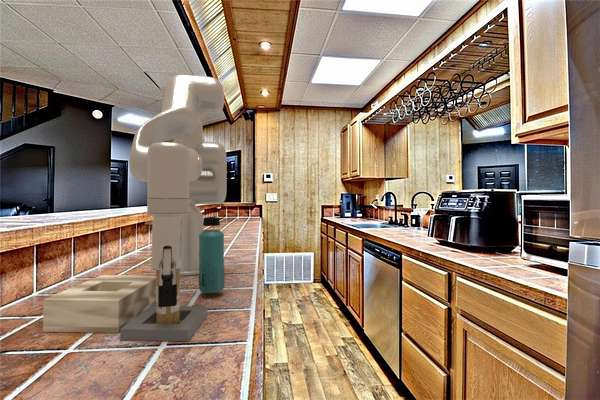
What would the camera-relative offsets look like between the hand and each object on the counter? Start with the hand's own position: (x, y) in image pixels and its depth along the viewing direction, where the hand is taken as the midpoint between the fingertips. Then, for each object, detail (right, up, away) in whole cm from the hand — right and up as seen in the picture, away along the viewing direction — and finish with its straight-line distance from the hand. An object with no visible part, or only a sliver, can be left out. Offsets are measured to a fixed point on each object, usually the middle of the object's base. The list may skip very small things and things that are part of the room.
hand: (168, 300), depth 64 cm
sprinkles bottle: (0, -5, 0) cm, 5 cm away
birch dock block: (-15, -5, +6) cm, 17 cm away
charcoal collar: (0, -5, 0) cm, 5 cm away
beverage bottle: (+3, -5, +20) cm, 21 cm away
